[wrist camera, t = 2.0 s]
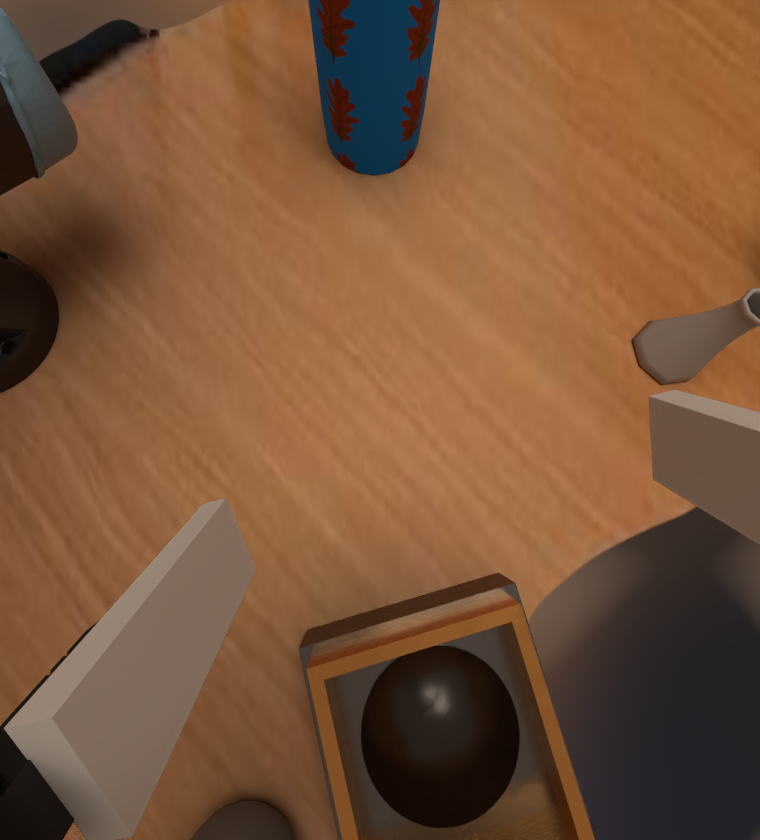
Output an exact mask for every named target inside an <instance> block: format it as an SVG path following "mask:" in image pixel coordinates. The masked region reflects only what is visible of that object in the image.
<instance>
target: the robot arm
mask: <svg viewBox="0 0 760 840" xmlns="http://www.w3.org/2000/svg"><path fill="white" fill-rule="evenodd" d="M77 139H78V135H77V130H76V126H75V124H74V121H73V119H72V117H71V115H70V113H69V112H68V110H67V108H66V106H65V105H64V103H63V101H62V100H61V98H60V96H59V94H58V93H57V91H56V89H55V88H54V86H53V85H52V83H51V81H50V80H49V78H48V77H47V75H46V73H45V72H44V70H43V69H42V67H41V65H40V64H39V62H38V61H37V59H36V58H35V56H34V55H33V53H32V51H31V50H30V48H29V47H28V45H27V44H26V42H25V41H24V39H23V37H22V36H21V35H20V33H19V32H18V30H17V29H16V27H15V26H14V24H13V23H12V21H11V20H10V18H9V17H8V15H7V14H6V13H5V11H4V10H3V9H2V8H1V7H0V195H2V194H4V193H6V192H8V191H9V190H11V189H13V188H15V187H17V186H18V185H20V184H22V183H24V182H26V181H27V180H29V179H31V178H33V177H35V178H37V179H39V178H41V177H42V176H43V175H44V173H45V170H47V169H48V168H50V167H51V166H53V165H54V164H56V163H58V162H59V161H61V160H62V159H64V158H65V157H67V156H69V155H70V154H71V153H72V152H73V151H74V150H75V148H76V146H77ZM57 324H58V307H57V302H56V298H55V295H54V293H53V291H52V289H51V287H50V285H49V284H48V283H47V281H46V280H45V279H44V278H43V277H42V276H41V275H40V274H39V273H38V272H37V271H35V270H34V269H33V268H31V267H30V266H28V265H27V264H25V263H24V262H22V261H21V260H19V259H18V258H16V257H14V256H13V255H11V254H9V253H7V252H4V251H2V250H0V392H1V391H3V390H5V389H8V388H10V387H11V386H13V385H15V384H16V383H18V382H19V381H21V380H22V379H24V378H25V377H26V376H27V375H28V374H30V373H31V372H32V371H33V370H34V369H35V368H36V367H37V366H38V364H39V363H40V362H41V361H42V359H43V358H44V357H45V355H46V354H47V352H48V350H49V348H50V346H51V344H52V342H53V340H54V337H55V334H56V330H57ZM649 414H650V433H651V451H652V470H653V480H655V481H657V482H658V483H660V484H661V485H663V486H665V487H666V488H668V489H670V490H671V491H673V492H675V493H676V494H678V495H679V496H681V497H683V498H684V499H686V500H688V501H689V502H691V503H693V504H694V505H696V506H697V507H699V508H701V509H702V510H704V511H706V512H707V513H709V514H711V515H712V516H714V517H715V518H717V519H719V520H720V521H722V522H724V523H725V524H727V525H729V526H730V527H732V528H733V529H735V530H737V531H738V532H740V533H742V534H743V535H745V536H746V537H748V538H750V539H751V540H753V541H755V542H756V543H758V544H760V412H756V411H753V410H749V409H745V408H741V407H738V406H734V405H730V404H726V403H723V402H719V401H715V400H711V399H708V398H704V397H700V396H697V395H693V394H689V393H685V392H682V391H678V390H672V391H668V392H664V393H659V394H655V395H651V396H649ZM255 571H256V568H255V566H254V564H253V561H252V559H251V556H250V554H249V552H248V549H247V547H246V544H245V542H244V539H243V537H242V535H241V532H240V530H239V527H238V525H237V522H236V520H235V518H234V515H233V513H232V510H231V508H230V506H229V503H228V501H227V498H224V499H220V500H216V501H212V502H208V503H204V504H203V505H202V506H201V507H200V508H199V509H198V510H197V511H196V513H195V514H194V515H193V516H192V517H191V518H190V519H189V520H188V522H187V523H186V524H185V525H184V526H183V527H182V528H181V529H180V531H179V532H178V533H177V534H176V535H175V536H174V537H173V538H172V540H171V541H170V542H169V543H168V544H167V545H166V546H165V547H164V549H163V550H162V551H161V552H160V553H159V554H158V555H157V556H156V558H155V559H154V560H153V561H152V562H151V563H150V564H149V565H148V567H147V568H146V569H145V570H144V571H143V572H142V573H141V574H140V576H139V577H138V578H137V579H136V580H135V581H134V582H133V583H132V584H131V586H130V587H129V588H128V589H127V590H126V591H125V592H124V593H123V595H122V596H121V597H120V598H119V599H118V600H117V601H116V602H115V604H114V605H113V606H112V607H111V608H110V609H109V610H108V611H107V613H106V614H105V615H104V616H103V617H102V618H101V619H100V620H99V621H98V622H97V623H95V624H94V625H93V626H92V627H90V628H89V629H88V630H87V631H86V632H85V633H84V634H83V635H82V636H81V637H80V638H79V640H78V641H77V642H76V643H75V644H74V645H73V646H72V647H71V648H70V650H69V651H68V652H67V656H64V657H62V658H61V660H60V661H59V662H58V663H57V664H56V665H55V666H54V667H53V668H52V670H51V674H50V675H46V676H45V677H44V678H43V679H42V681H41V682H40V683H39V684H38V685H37V686H36V687H35V688H34V689H33V691H32V692H31V693H30V694H29V695H28V696H27V697H26V698H25V699H24V701H23V702H22V703H21V704H20V705H19V706H18V707H17V708H16V709H15V711H14V712H13V713H12V714H11V715H10V716H9V717H8V718H7V719H6V721H5V722H4V723H3V724H2V725H1V726H0V840H63V838H64V837H65V835H66V833H67V832H68V830H69V828H70V827H71V825H72V823H73V822H74V823H75V825H76V826H77V827H78V829H79V830H80V831H81V833H82V834H83V835H84V837H85V838H86V839H87V840H118V839H123V838H128V837H133V836H134V834H135V831H136V829H137V827H138V825H139V823H140V821H141V818H142V816H143V814H144V812H145V810H146V808H147V805H148V803H149V801H150V799H151V797H152V795H153V792H154V790H155V788H156V786H157V784H158V782H159V779H160V777H161V775H162V773H163V771H164V769H165V766H166V764H167V762H168V760H169V758H170V755H171V753H172V751H173V749H174V747H175V745H176V742H177V740H178V738H179V736H180V734H181V732H182V729H183V727H184V725H185V723H186V721H187V719H188V716H189V714H190V712H191V710H192V708H193V706H194V703H195V701H196V699H197V697H198V695H199V693H200V690H201V688H202V686H203V684H204V682H205V680H206V677H207V675H208V673H209V671H210V669H211V667H212V664H213V662H214V660H215V658H216V656H217V653H218V651H219V649H220V647H221V645H222V643H223V640H224V638H225V636H226V634H227V632H228V630H229V627H230V625H231V623H232V621H233V619H234V617H235V614H236V612H237V610H238V608H239V606H240V604H241V601H242V599H243V597H244V595H245V593H246V591H247V588H248V586H249V584H250V582H251V580H252V578H253V575H254V573H255Z"/></svg>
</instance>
